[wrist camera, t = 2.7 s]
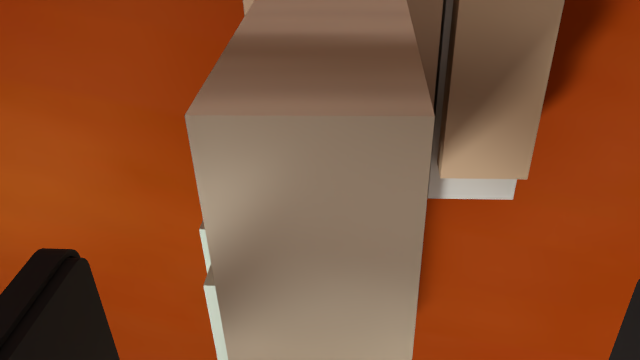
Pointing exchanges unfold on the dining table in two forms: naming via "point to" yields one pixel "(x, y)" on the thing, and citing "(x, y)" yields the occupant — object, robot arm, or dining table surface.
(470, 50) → the offcut stack
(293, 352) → the birch board
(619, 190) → the dining table surface
